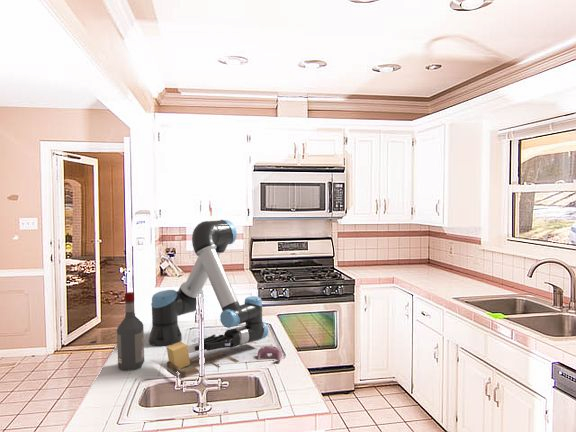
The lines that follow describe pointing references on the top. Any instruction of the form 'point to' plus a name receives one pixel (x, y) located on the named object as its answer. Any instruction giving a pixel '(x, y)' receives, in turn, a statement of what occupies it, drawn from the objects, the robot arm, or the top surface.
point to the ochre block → (178, 354)
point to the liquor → (130, 338)
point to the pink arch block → (269, 349)
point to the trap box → (191, 368)
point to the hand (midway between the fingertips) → (186, 349)
